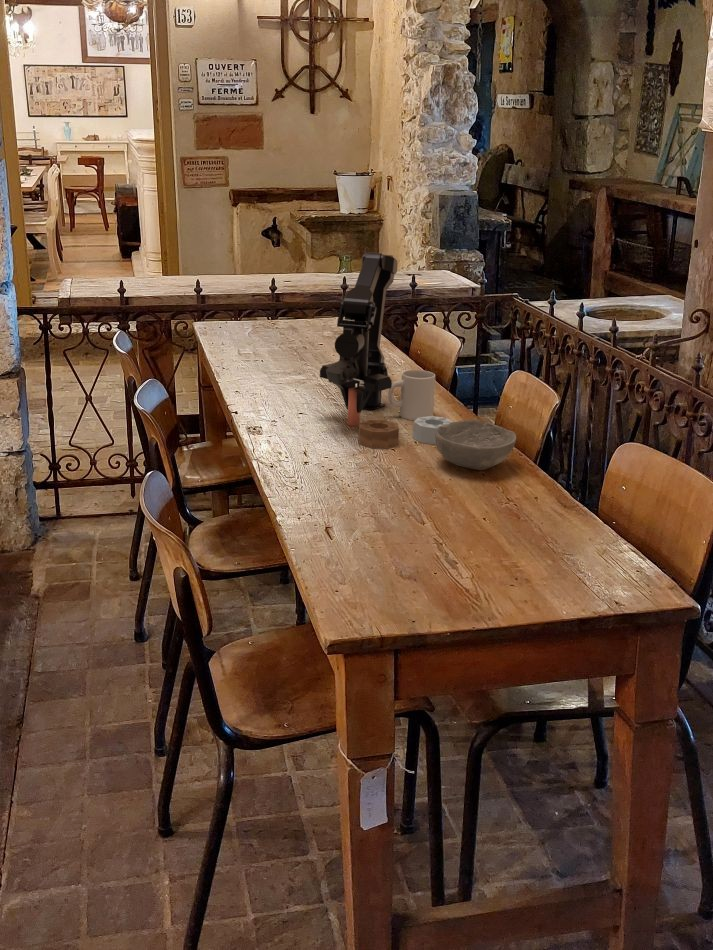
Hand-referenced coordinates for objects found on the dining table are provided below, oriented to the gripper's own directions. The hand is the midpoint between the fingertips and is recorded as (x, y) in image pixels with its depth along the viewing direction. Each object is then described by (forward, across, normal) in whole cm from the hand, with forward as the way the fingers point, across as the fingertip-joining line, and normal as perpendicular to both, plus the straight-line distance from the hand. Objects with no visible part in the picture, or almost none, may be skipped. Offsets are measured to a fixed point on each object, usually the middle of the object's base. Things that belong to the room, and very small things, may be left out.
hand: (354, 411), depth 252 cm
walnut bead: (+3, +13, -6) cm, 15 cm away
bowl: (+4, +38, -3) cm, 38 cm away
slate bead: (+3, +20, +6) cm, 21 cm away
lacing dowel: (+3, 0, 0) cm, 3 cm away
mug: (+4, +5, +16) cm, 17 cm away
